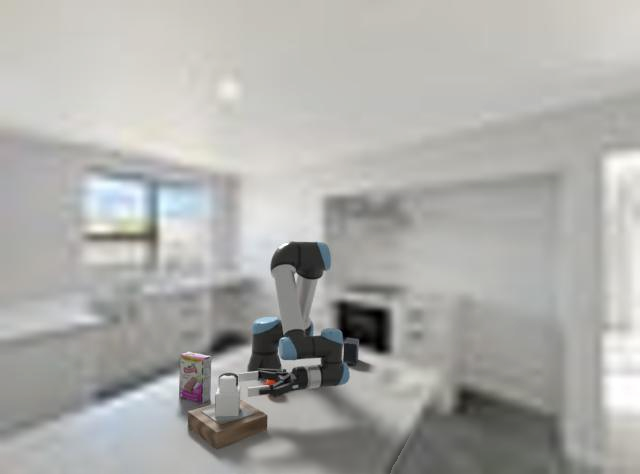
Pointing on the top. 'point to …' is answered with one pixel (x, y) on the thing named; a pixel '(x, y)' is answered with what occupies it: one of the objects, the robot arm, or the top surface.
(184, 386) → the candy bar box
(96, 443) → the top surface
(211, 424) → the walnut base
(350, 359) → the small box
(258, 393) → the robot arm
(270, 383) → the clementine
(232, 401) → the medicine bottle
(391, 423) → the top surface
